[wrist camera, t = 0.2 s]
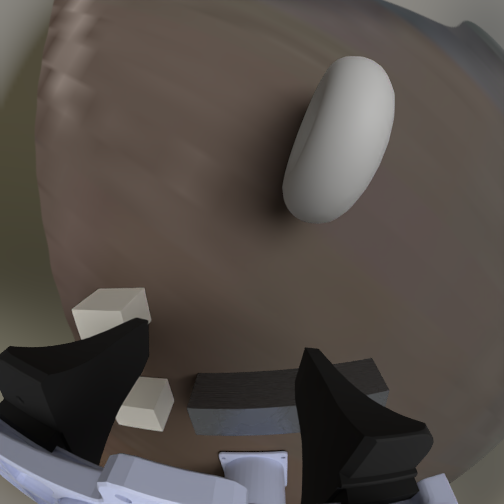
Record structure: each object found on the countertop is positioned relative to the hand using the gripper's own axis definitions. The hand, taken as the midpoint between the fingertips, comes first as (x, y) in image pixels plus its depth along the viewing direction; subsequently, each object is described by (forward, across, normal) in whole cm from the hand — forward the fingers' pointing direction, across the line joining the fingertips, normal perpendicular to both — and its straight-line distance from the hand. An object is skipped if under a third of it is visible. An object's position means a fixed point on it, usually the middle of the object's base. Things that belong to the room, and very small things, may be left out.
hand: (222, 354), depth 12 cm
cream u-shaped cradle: (+10, +8, +9) cm, 15 cm away
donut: (+10, -4, -11) cm, 15 cm away
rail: (+10, -6, +9) cm, 15 cm away
